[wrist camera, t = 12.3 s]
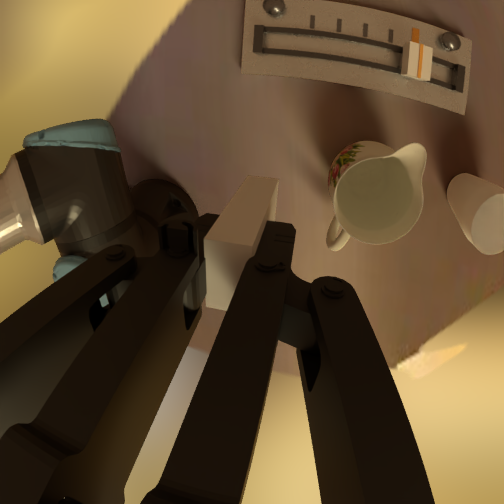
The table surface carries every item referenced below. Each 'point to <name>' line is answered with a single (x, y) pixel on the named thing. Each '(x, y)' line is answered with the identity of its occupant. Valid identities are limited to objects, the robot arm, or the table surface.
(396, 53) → the console
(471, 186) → the cup
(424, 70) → the fader
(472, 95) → the table surface
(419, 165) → the pitcher
